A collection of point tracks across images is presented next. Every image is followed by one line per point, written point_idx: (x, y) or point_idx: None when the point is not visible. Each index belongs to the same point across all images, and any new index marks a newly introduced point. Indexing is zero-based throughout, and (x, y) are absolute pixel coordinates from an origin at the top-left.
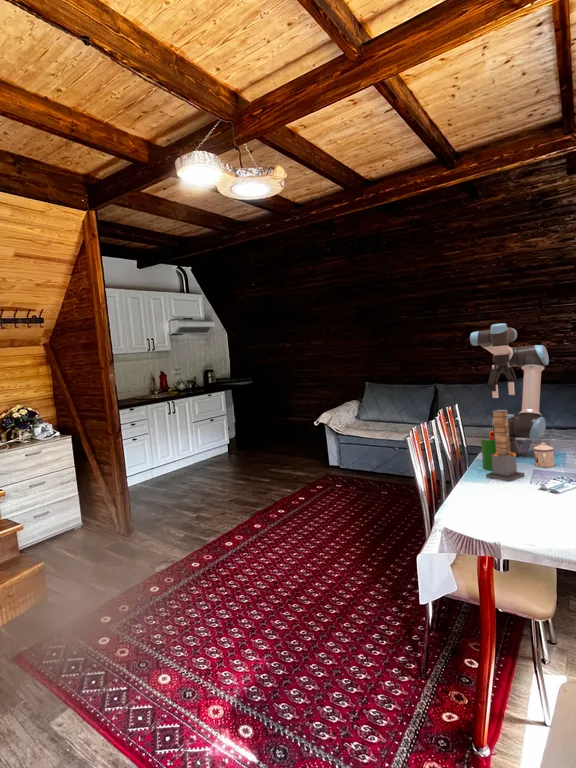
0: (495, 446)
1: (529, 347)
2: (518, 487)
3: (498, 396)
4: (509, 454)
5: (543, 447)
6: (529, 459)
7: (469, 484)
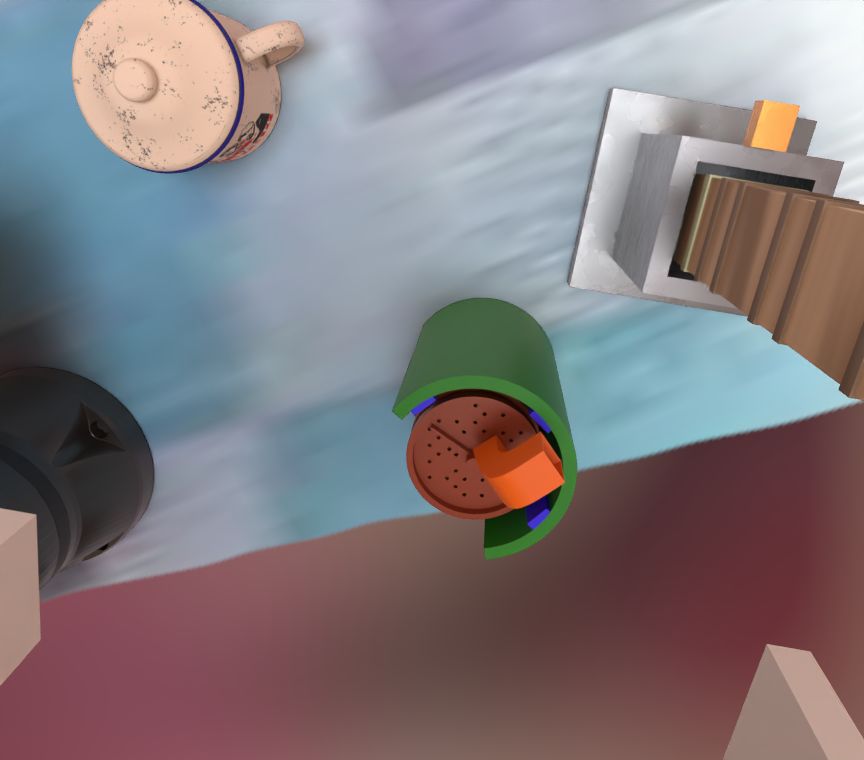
0: (547, 384)
1: None
2: None
3: (777, 668)
4: (776, 155)
5: (192, 59)
6: (99, 262)
7: None
